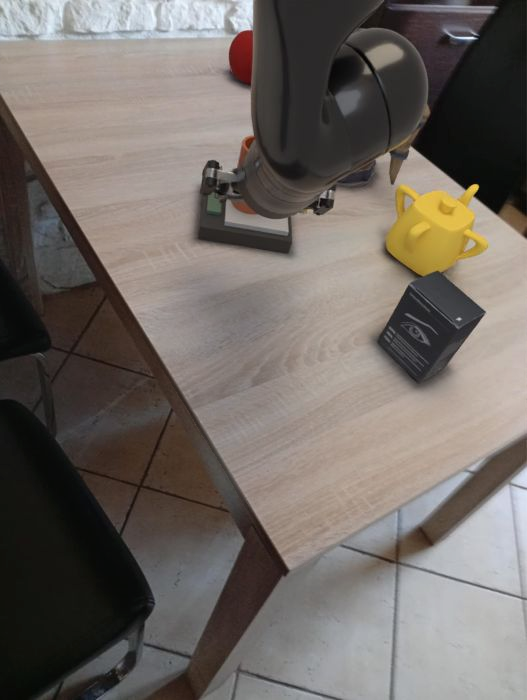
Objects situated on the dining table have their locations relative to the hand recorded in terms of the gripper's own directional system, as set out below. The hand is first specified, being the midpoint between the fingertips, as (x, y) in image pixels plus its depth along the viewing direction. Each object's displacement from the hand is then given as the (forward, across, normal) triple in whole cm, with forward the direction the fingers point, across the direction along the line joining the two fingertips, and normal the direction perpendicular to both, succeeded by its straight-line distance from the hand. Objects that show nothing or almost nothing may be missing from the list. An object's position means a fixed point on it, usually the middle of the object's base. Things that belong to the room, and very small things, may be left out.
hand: (257, 200), depth 64 cm
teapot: (+13, -28, +1) cm, 31 cm away
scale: (+14, 0, 0) cm, 14 cm away
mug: (+28, -18, -13) cm, 35 cm away
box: (-2, -22, +16) cm, 28 cm away
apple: (+47, 0, -32) cm, 57 cm away
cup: (+12, 0, -2) cm, 12 cm away
